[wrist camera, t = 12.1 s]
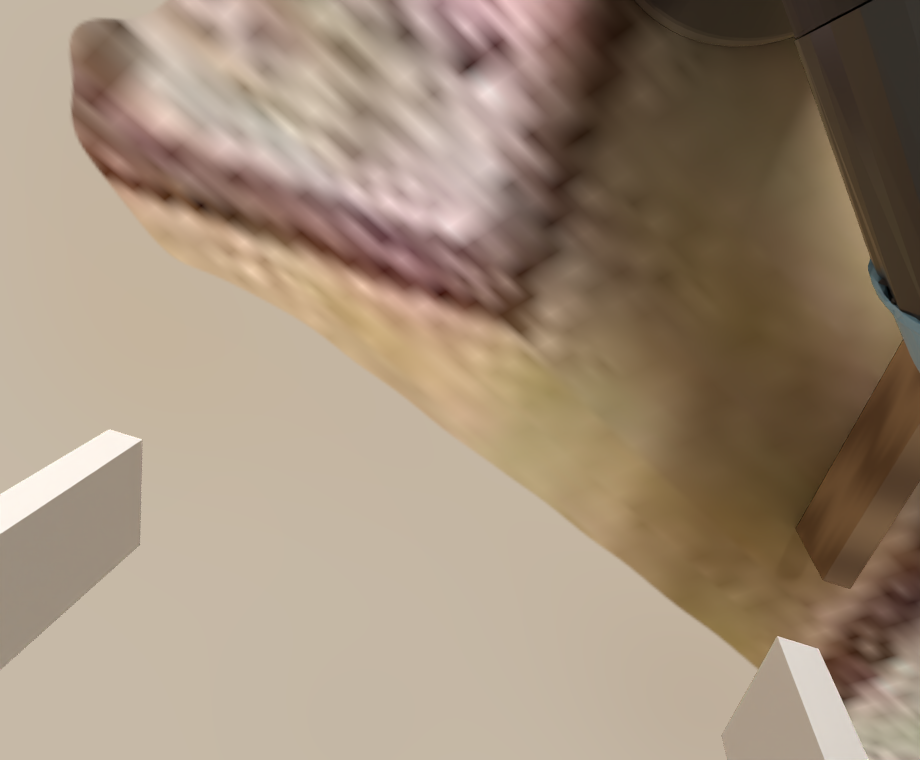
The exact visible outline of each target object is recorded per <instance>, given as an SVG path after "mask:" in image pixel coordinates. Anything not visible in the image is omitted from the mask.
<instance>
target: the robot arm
mask: <svg viewBox="0 0 920 760" xmlns="http://www.w3.org/2000/svg"><path fill="white" fill-rule="evenodd" d="M634 1H635V2H636V3H637V4H638V5H639V6H640V7H641V8H642V9H643V10H644V11H645V12H646V13H647V14H648V15H650V16H651V17H652V18H653V19H655V20H656V21H657V22H659V23H660V24H662V25H663V26H665V27H666V28H668V29H670V30H672V31H673V32H675V33H677V34H679V35H682V36H684V37H687V38H689V39H692V40H696V41H699V42H703V43H707V44H712V45H719V46H733V47H740V46H755V45H762V44H768V43H773V42H777V41H780V40H784V39H788V38H790V37H793V36H794V38H795V39H796V38H797V39H796V40H795V41H794V42H795V45H796V48H797V51H798V53H799V56H800V59H801V62H802V65H803V68H804V70H805V73H806V76H807V79H808V82H809V85H810V87H811V90H812V93H813V96H814V99H815V102H816V104H817V107H818V110H819V113H820V116H821V119H822V121H823V124H824V127H825V130H826V133H827V136H828V138H829V141H830V144H831V147H832V150H833V153H834V155H835V158H836V161H837V164H838V167H839V170H840V172H841V175H842V178H843V181H844V184H845V187H846V190H847V192H848V195H849V198H850V201H851V204H852V207H853V209H854V212H855V215H856V218H857V221H858V224H859V226H860V229H861V232H862V235H863V238H864V241H865V243H866V246H867V249H868V252H869V255H870V261H869V265H868V271H869V274H870V278H871V281H872V285H873V287H874V289H875V291H876V293H877V295H878V297H879V298H880V300H881V301H882V302H883V303H884V305H885V306H886V307H887V308H888V309H889V310H890V311H891V313H892V314H893V315H894V318H895V320H896V322H897V325H898V327H899V330H900V332H901V334H902V337H903V339H904V342H905V344H906V346H907V349H908V351H909V353H910V356H911V358H912V360H913V362H914V364H915V366H916V367H917V369H918V371H919V372H920V0H634ZM816 27H817V28H816ZM814 28H815V29H814ZM809 31H810V32H809ZM807 32H808V33H807ZM802 35H803V36H802ZM800 36H801V37H800ZM798 37H799V38H798ZM141 474H142V439H139V438H136V437H132V436H129V435H126V434H123V433H119V432H116V431H113V430H110V429H109V430H107V431H105V432H104V433H102V434H100V435H99V436H97V437H95V438H94V439H92V440H90V441H89V442H87V443H85V444H84V445H82V446H80V447H79V448H77V449H75V450H74V451H72V452H70V453H69V454H67V455H65V456H64V457H62V458H60V459H59V460H57V461H55V462H53V463H52V464H50V465H49V466H47V467H45V468H43V469H42V470H40V471H38V472H37V473H35V474H33V475H32V476H30V477H28V478H27V479H25V480H24V481H22V482H20V483H18V484H17V485H15V486H13V487H12V488H10V489H8V490H7V491H5V492H3V493H1V494H0V670H1V669H2V668H3V667H4V666H5V665H6V664H8V663H9V662H10V661H11V660H12V659H13V658H14V657H15V656H16V655H18V653H20V652H21V651H22V650H23V649H24V648H25V647H26V646H27V645H29V644H30V643H31V642H32V641H33V640H34V639H35V638H37V636H39V635H40V634H41V633H42V632H43V631H44V630H45V629H47V628H48V627H49V626H50V625H51V624H52V623H53V622H54V621H56V620H57V619H58V618H59V617H60V616H61V615H62V614H63V613H64V612H65V611H67V610H68V609H69V608H70V607H71V606H72V605H73V604H74V603H76V601H78V600H79V599H80V598H81V597H82V596H83V595H84V594H86V593H87V592H88V591H89V590H90V589H91V588H92V587H93V586H95V585H96V584H97V583H98V582H99V581H100V580H101V579H102V578H103V577H105V576H106V575H107V574H108V573H109V572H110V571H111V570H112V569H114V568H115V567H116V566H117V565H118V564H119V563H120V562H121V561H122V560H124V559H125V558H126V557H127V556H128V555H129V554H130V553H131V552H132V551H134V550H135V549H136V548H137V547H138V546H139V545H140V518H141V517H140V516H141ZM722 739H723V744H724V748H725V752H726V757H727V760H869V759H868V756H867V754H866V752H865V750H864V748H863V746H862V743H861V741H860V739H859V737H858V735H857V732H856V730H855V728H854V726H853V724H852V721H851V719H850V717H849V715H848V713H847V710H846V708H845V706H844V704H843V702H842V699H841V697H840V695H839V693H838V691H837V688H836V686H835V684H834V682H833V680H832V677H831V675H830V673H829V671H828V669H827V666H826V664H825V662H824V660H823V658H822V655H821V653H820V651H819V649H818V648H814V647H811V646H808V645H805V644H802V643H798V642H795V641H792V640H789V639H785V638H782V637H779V636H777V637H776V639H775V641H774V643H773V644H772V646H771V648H770V650H769V652H768V653H767V655H766V657H765V659H764V660H763V662H762V664H761V666H760V668H759V669H758V671H757V673H756V675H755V676H754V679H753V680H752V682H751V684H750V686H749V687H748V689H747V691H746V693H745V694H744V696H743V698H742V700H741V702H740V703H739V705H738V707H737V709H736V710H735V712H734V714H733V716H732V718H731V719H730V721H729V723H728V725H727V726H726V728H725V730H724V732H723V734H722Z"/></svg>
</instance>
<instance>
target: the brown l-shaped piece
mask: <svg viewBox="0 0 920 760" xmlns="http://www.w3.org/2000/svg"><path fill="white" fill-rule="evenodd" d="M919 481H920V372H919V371H918V369H917V367H916V366H915V364H914V362H913V360H912V358H911V356H910V353H909V351H908V349H907V346H906V344H905V342H904V339H903V341H902V343H901V345H900V346H899V348H898V350H897V352H896V353H895V355H894V357H893V359H892V360H891V362H890V364H889V366H888V367H887V369H886V371H885V373H884V375H883V376H882V378H881V380H880V382H879V383H878V385H877V387H876V389H875V390H874V392H873V394H872V396H871V397H870V399H869V401H868V403H867V404H866V406H865V408H864V410H863V411H862V413H861V415H860V417H859V418H858V420H857V422H856V424H855V425H854V427H853V429H852V431H851V432H850V434H849V436H848V438H847V439H846V441H845V443H844V445H843V447H842V448H841V450H840V452H839V454H838V455H837V457H836V459H835V461H834V462H833V464H832V466H831V468H830V469H829V471H828V473H827V475H826V476H825V478H824V480H823V482H822V483H821V485H820V487H819V489H818V490H817V492H816V494H815V496H814V497H813V499H812V501H811V503H810V504H809V506H808V508H807V510H806V512H805V513H804V515H803V517H802V519H801V520H800V522H799V524H798V526H797V527H796V531H797V533H798V535H799V536H800V538H801V540H802V542H803V544H804V546H805V548H806V550H807V551H808V553H809V555H810V557H811V559H812V561H813V563H814V564H815V566H816V568H817V570H818V572H819V574H820V576H821V578H822V579H823V580H824V581H827V582H830V583H833V584H836V585H839V586H842V587H845V588H848V589H850V588H851V587H852V585H853V584H854V582H855V581H856V579H857V578H858V576H859V574H860V573H861V571H862V570H863V568H864V567H865V565H866V564H867V562H868V560H869V559H870V557H871V556H872V554H873V553H874V551H875V550H876V548H877V546H878V545H879V543H880V542H881V540H882V539H883V537H884V535H885V534H886V532H887V531H888V529H889V528H890V526H891V525H892V523H893V521H894V520H895V518H896V517H897V515H898V514H899V512H900V511H901V509H902V507H903V506H904V504H905V503H906V501H907V500H908V498H909V497H910V495H911V493H912V492H913V490H914V489H915V487H916V486H917V484H918V483H919Z"/></svg>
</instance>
